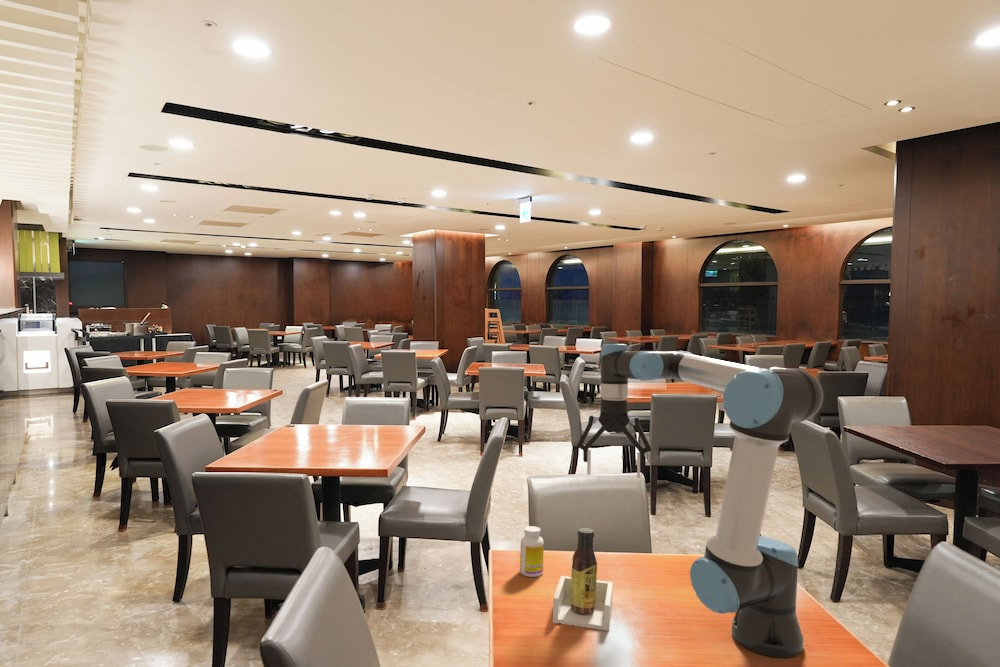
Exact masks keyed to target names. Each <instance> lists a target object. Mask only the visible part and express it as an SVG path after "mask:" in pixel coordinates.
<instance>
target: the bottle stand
mask: <svg viewBox="0 0 1000 667" xmlns="http://www.w3.org/2000/svg"><path fill="white" fill-rule="evenodd" d="M613 586H614V582H613V581H605V580H598V579H597V580H596V604H595V609H594V611H593V612H592V613H590V614H579V613H576V612H574V611H573V610H572V609H571V602H570V598H571V576H567V575H560V578H559V581H558V583H557V587H556V590H555V592H554V596H553V600H552V606H553V607H552V608H553V609H552V623H553V624H559V623H561V624H560V625H566V624H567V626H572V625H574V627H579V626H580V627H581V628H586V629H593V630H601V631H608V632H609V631H610V626H611V619H612V609H613V593H614V592H613V590H614V587H613Z"/></svg>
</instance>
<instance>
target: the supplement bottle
mask: <svg viewBox="0 0 1000 667" xmlns="http://www.w3.org/2000/svg"><path fill="white" fill-rule="evenodd" d="M523 531H524V532H523V533H524V535H523V536H522V537H521V538H520V558H519V559H520V562H519V563H520V564H519V569H520V570H519V571H520V574H521V575H522V576H525V577H527V578H529V577H530V578H536V577H540V576H542V575H543V573H544V543H545V542H544V539H543V537H542V536H541V533H542V532H541V528H540V527H539V526H535V525H534V526H532V525H530V526H529V525H528V526H526V527H524V530H523Z"/></svg>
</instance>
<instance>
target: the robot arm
mask: <svg viewBox="0 0 1000 667" xmlns="http://www.w3.org/2000/svg"><path fill="white" fill-rule="evenodd" d="M600 347H601V349H600V357H599V359H600V398H602V399H600V404H599V405H600V408H599V409H600V410H599V411H600V414H599V416H595V415H593V414H590V415H589V417H588V424H587V425H586V428H585V429H584V431H583V433H582V434H581V436H580V439H579V441H578V442H577V445H576V447H577V449H581V450H582V451H583V452H582V453H583V455H582V457H583V459H582V460H583V463H586V470H587V472H586V475H588V476H589V475H591V473H592V471H591V470H592V450H591V449H590V447H591V446H592V445H594V443H595V442H596V441H597V440H598V439H599V437H601V435H602V434H604V432H605V431H606V432H607V433H616V434H620V433H622V432H623V434H624V435H625V436H626V438H628V439H629V441H630V442H631V443H632V444H633V446H634V447H635V448H636V449H637V454H636V455H637V456H636V458H637V460H636V462H637V464H636V466H637V467H636V468H637V469H636V470H637V472H636V478H639V479H640V478H641V466H644V465H645V456H646V453H649V452H651V451H652V446H651V444H650V442H649V440H648V438H647V436H646V434H645V432H644V430H643V429H642V426H641V424H640V418H639V416H635V417H629V415H628V413H629V410H628V408H629V403H628V402H629V401H628V399H627V398H629V385H628V384H629V380H640V381H648V382H649V381H656V380H664V379H668V380H669V379H671V380H676V381H677V380H678V381H681V382H686V383H690V384H694V385H697V386H702V387H705V388H710V389H713V390H716V391H721V392H723V395H722V405H723V408H724V410H726V411H725V414H726V417H727V418H728V419H729V420H730V422H729V428H730V429H731V431H732V432H733V433H734V435H735V436H734V441H733V446H732V450H731V456H730V461H729V467H728V472H727V476H726V481H725V486H724V492H723V497H722V501H721V502H722V503H721V508H720V512H719V517H718V522H717V526H716V527H717V528H716V533H715V535H713V536H711V537H709V538H708V539H707V540H706V546H705V550H704V555H703V556H701V557H698V558H697V559H696V560H694V561H693V563H692V564H691V566H690V570H689V576H690V577H689V579H690V582H691V586H692V589H693V591H694V592H695V596H696V597H697V598H698V599H699V601H700V602H701V604H703V606H705V607H706V608H707V609H709V610H710V611H711V612H714V613H716V614H727V613H730V614H731V613H735V612H736V613H735V615H734V617H733V619H732V623H731V635H732V637H733V639H734V640H735V641H736V642H737V643H738V644H739V645H741V646H742V647H744V648H746V649H748V650H750V651H751V652H753V653H757V654H760V655H764V656H767V655H768V656H767V657H772V656H773V657H774V658H793V657H796V656H798V655H797V654H799V653H800V654H802V652H803V650H804V636H803V634H802V630H801V626H800V622H799V619H798V616H797V594H798V592H797V591H798V589H797V587H798V572H799V571H798V569H799V568H798V567H799V563H798V561H799V560H798V552H797V550H796V549H795V548H794V547H793V546H791V545H790V544H788V543H786V542H783V541H781V540H777V539H774V538H770V537H767V536H762V535H761V536H760V533H761V532H762V528H763V522H764V518H765V514H766V508H767V502H768V500H769V499H768V498H769V494H770V490H771V485H772V484H771V483H772V479H773V474H774V471H775V470H774V469H775V465H776V461H777V456H778V452H779V447H780V445H783V443H786V442H788V441H789V439H790V435H791V430H792V426H793V424H797V423H802V422H805V421H808V420H809V419H811V418H813V417H814V416H815V415H816V414H817V413H818V412H819V411H820V409H821V408H822V406H823V402H824V390H823V388H822V385H821V383H820V381H819V380H818V379H817V378H816V377H815V375H813V374H811V373H810V372H808V371H807V370H804V369H801V368H793V367H790V368H789V367H788V368H787V367H780V366H772V367H770V368H763V367H757V366H752V365H747V364H741V363H736V362H733V361H726V360H723V359H722V360H721V359H717V358H711V357H708V356H702V355H701V356H700V355H696V354H693V353H692V352H689V351H684V350H673V351H672V350H671V351H668V350H667V351H663V350H662V351H661V350H660V351H657V350H655V351H654V350H652V351H651V350H647V351H646V350H641V351H640V350H639V351H638V350H635V351H634V350H633V351H631V350H629V346H628V345H627V344H625V343H604V344H603V345H601V346H600ZM628 379H629V380H628ZM597 421H598V422H599V424H600V425H601V427H600V428H599V429H598V430H597V431H596V432H595V434H593V436H592V437H591V438H590V439H589V440H588V442H586V444H584V443H585V441H586V439H587V437H588V435H589V433H590V430H591V429H592V427H593V426H594V424H596V423H597ZM629 423H631V424H632V425H633V426H635V429H636V431H637V433H638V435H639V437H640V439H641V441H642V444H643V446H644V447H643V446H642V445H641V443H640V442H639V441H638V440H637V438H636V437H635V436H634V435H633V434H632V432H631V431H630V430H629V428H628V427H627V425H628V424H629ZM761 534H762V533H761ZM801 651H802V652H801ZM800 654H799V655H800ZM795 655H796V656H795ZM792 656H793V657H792Z"/></svg>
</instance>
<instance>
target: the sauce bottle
mask: <svg viewBox="0 0 1000 667" xmlns="http://www.w3.org/2000/svg"><path fill="white" fill-rule="evenodd" d="M594 537H595V531H594V529H592V528H589V527H581V528H578V529H577V538H578V539H577V548H576V550H575V551H574V553H573V555H572V562H571V564H572V565H571V576H570V577H571V598H570V602H571V609H572V610H573V611H574V612H576V613H579V614H590V613H592V612H593V611H594V609H595V604H596V580H598V576H597V574H598V573H597V572H598V562H597V558H596V554H595V552H594Z"/></svg>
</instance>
